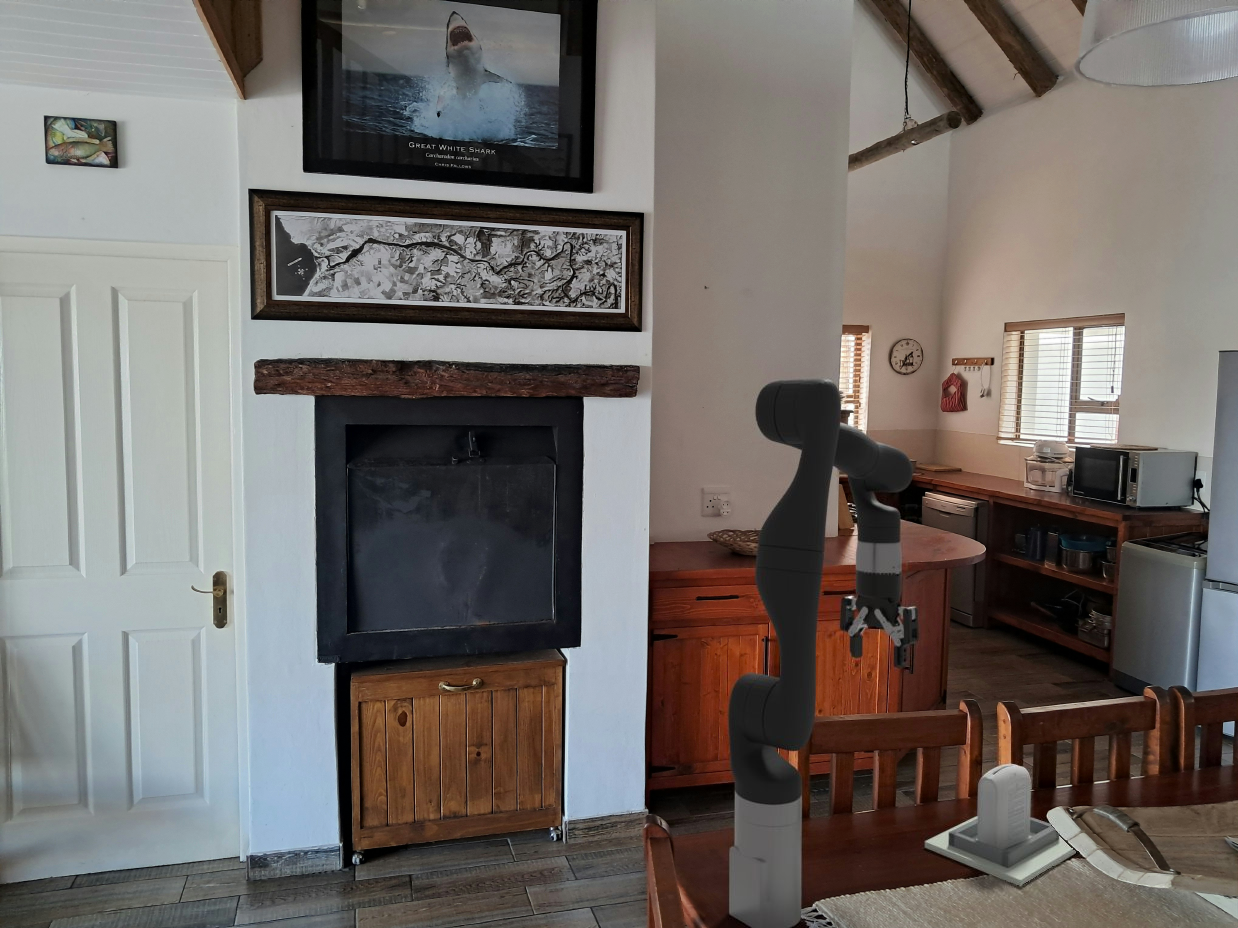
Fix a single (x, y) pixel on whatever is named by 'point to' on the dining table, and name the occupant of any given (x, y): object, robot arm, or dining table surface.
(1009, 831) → the grey rounded block
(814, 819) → the dining table surface
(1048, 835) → the dock
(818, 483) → the robot arm
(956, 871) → the dining table surface
